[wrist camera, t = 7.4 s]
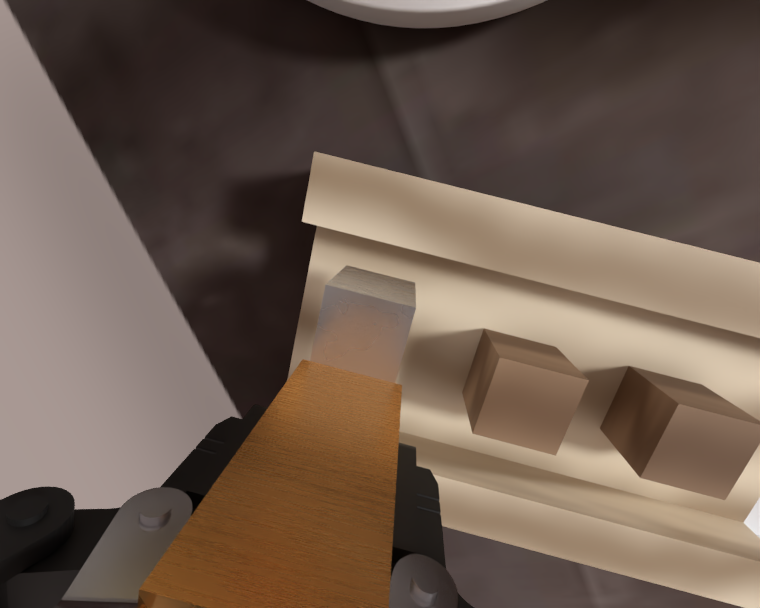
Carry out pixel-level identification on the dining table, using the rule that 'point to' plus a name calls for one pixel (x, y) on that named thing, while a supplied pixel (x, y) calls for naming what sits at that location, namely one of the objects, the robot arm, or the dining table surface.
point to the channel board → (579, 345)
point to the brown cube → (680, 433)
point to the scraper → (308, 474)
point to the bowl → (426, 11)
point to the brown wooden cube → (522, 392)
